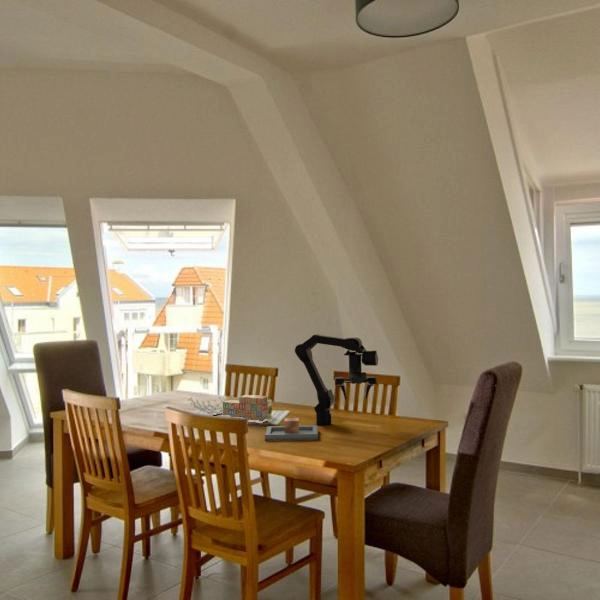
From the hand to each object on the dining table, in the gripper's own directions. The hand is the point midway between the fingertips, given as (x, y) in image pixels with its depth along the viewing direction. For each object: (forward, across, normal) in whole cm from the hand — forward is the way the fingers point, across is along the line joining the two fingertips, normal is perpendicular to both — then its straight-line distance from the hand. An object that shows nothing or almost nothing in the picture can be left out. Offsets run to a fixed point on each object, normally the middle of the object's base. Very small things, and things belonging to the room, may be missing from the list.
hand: (355, 399), depth 271 cm
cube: (+11, -29, -17) cm, 35 cm away
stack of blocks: (+12, -52, +15) cm, 56 cm away
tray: (+12, -29, -17) cm, 36 cm away
